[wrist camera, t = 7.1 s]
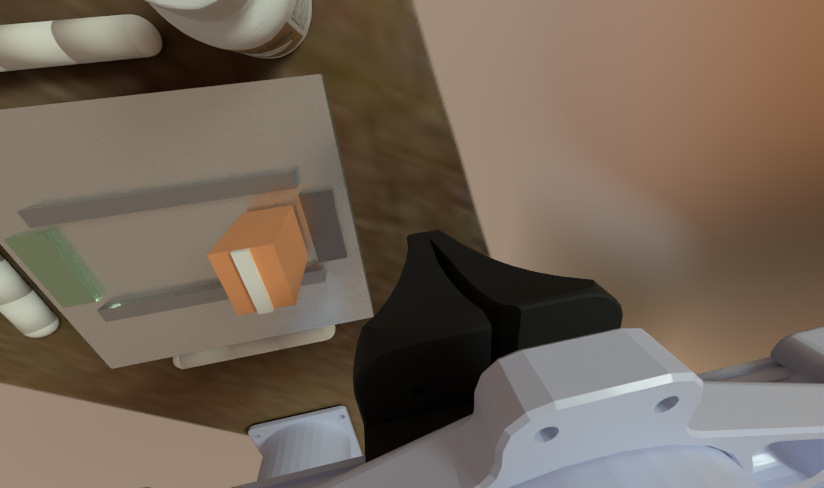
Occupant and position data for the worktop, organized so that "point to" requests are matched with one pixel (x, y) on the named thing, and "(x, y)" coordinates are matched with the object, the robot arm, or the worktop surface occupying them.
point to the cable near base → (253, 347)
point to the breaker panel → (176, 211)
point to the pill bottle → (241, 23)
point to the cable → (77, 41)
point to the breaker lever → (261, 260)
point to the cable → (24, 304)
